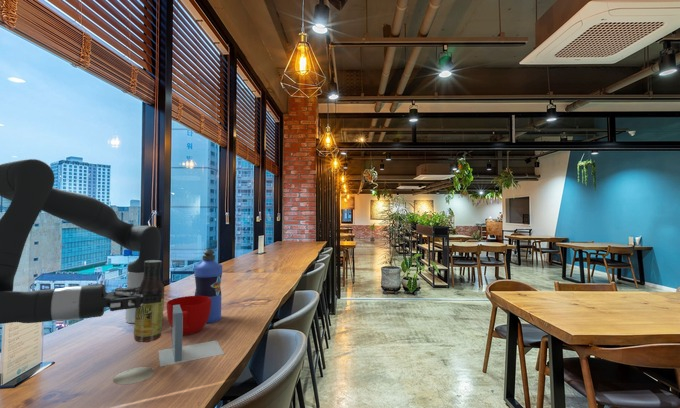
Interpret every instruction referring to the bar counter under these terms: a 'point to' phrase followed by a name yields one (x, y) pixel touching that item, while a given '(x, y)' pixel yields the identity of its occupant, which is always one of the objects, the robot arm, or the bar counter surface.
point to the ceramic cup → (191, 312)
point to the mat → (191, 352)
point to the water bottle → (209, 283)
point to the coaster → (133, 375)
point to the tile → (177, 333)
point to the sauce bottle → (150, 305)
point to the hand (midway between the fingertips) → (160, 294)
